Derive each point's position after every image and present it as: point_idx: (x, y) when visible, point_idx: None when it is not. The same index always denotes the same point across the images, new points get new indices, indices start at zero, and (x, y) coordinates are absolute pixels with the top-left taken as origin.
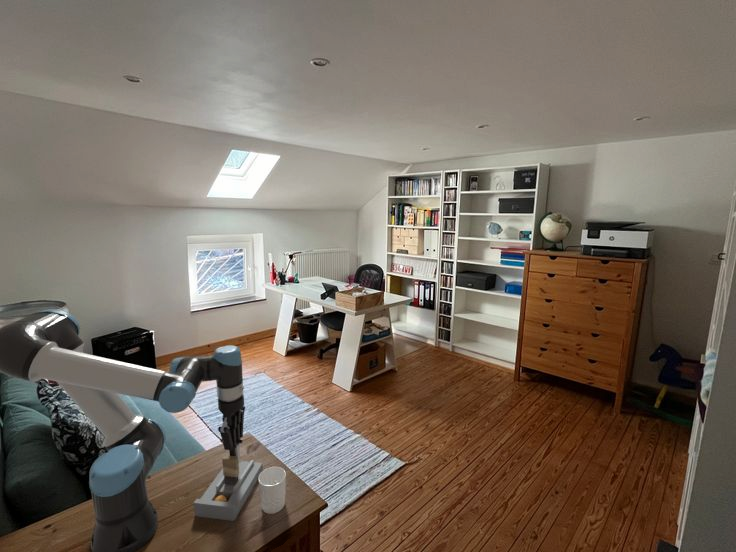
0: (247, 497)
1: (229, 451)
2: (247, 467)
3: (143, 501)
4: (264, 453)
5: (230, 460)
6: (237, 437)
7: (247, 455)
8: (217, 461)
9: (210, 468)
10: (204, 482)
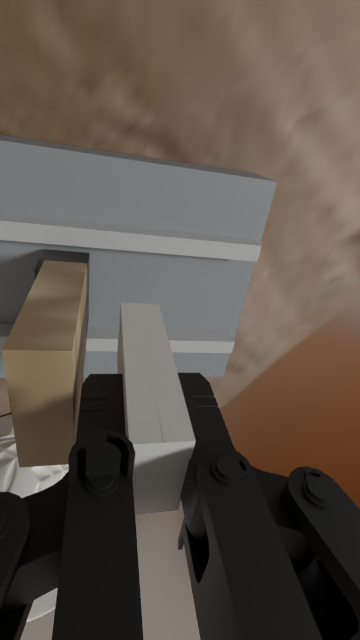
0: None
1: (76, 436)
2: (172, 345)
3: None
4: (326, 318)
5: (15, 420)
6: (199, 617)
7: (333, 242)
8: (326, 52)
9: (262, 20)
10: (120, 32)
